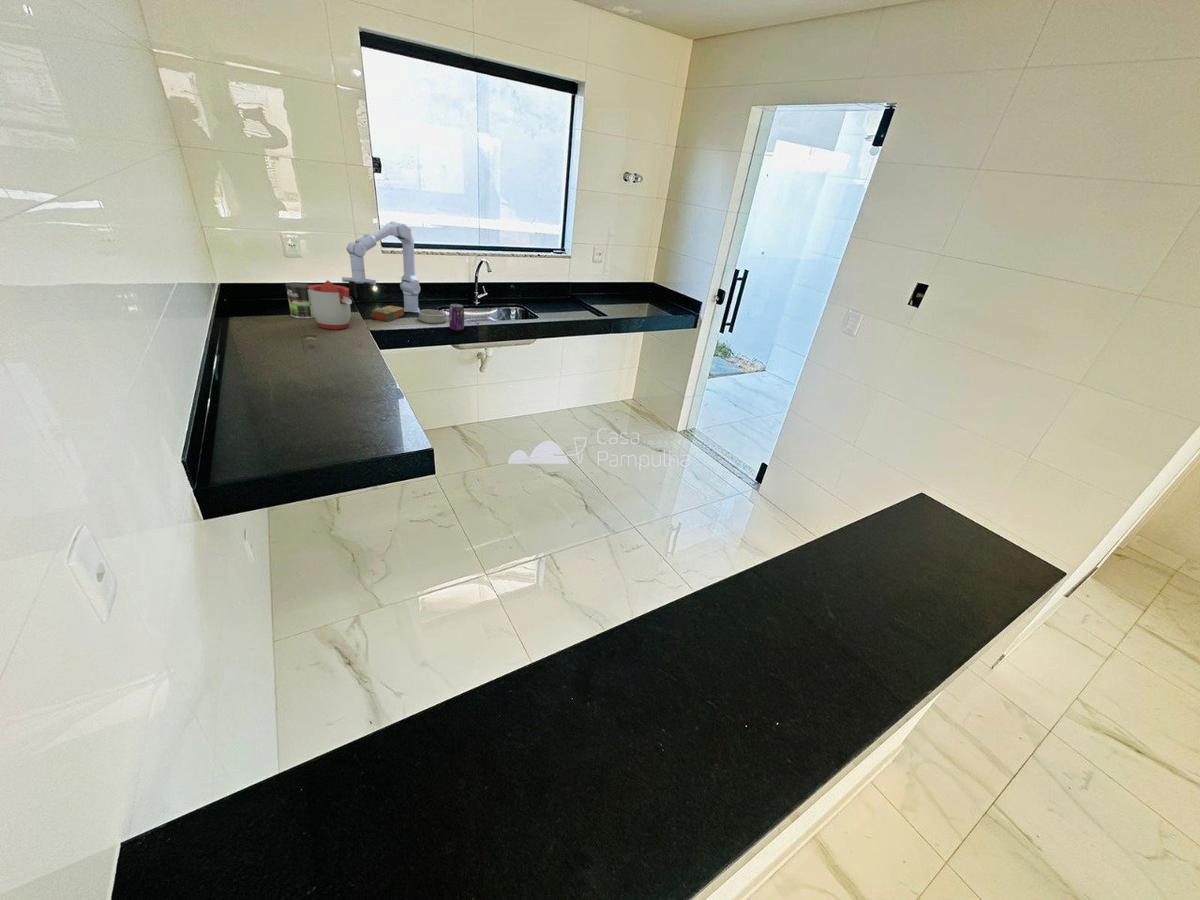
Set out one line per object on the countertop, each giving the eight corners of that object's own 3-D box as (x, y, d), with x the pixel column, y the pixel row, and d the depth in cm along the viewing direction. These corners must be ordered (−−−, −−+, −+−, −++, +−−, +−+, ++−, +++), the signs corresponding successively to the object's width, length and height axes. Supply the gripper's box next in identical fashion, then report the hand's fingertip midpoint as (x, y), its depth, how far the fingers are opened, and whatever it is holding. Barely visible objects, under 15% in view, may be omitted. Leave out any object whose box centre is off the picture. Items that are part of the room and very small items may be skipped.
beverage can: (461, 332, 231) (461, 307, 225) (447, 330, 230) (447, 305, 225) (465, 328, 237) (465, 305, 232) (451, 326, 237) (451, 302, 231)
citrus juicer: (341, 334, 202) (335, 286, 192) (305, 326, 204) (297, 279, 194) (364, 326, 215) (359, 282, 206) (330, 320, 217) (324, 275, 208)
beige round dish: (419, 316, 246) (418, 308, 244) (445, 318, 250) (445, 310, 248) (418, 322, 235) (417, 314, 233) (445, 324, 239) (445, 316, 237)
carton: (404, 315, 243) (404, 307, 241) (387, 321, 228) (386, 313, 226) (389, 313, 243) (389, 304, 241) (371, 318, 229) (370, 310, 227)
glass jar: (301, 319, 212) (296, 287, 205) (285, 315, 215) (279, 283, 208) (321, 316, 221) (317, 285, 214) (305, 312, 223) (300, 281, 217)
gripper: (339, 269, 216) (342, 298, 222) (373, 272, 221) (376, 301, 227) (342, 266, 222) (345, 295, 228) (375, 270, 227) (377, 298, 233)
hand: (360, 298), depth 228 cm, fingers open, 4 cm apart
